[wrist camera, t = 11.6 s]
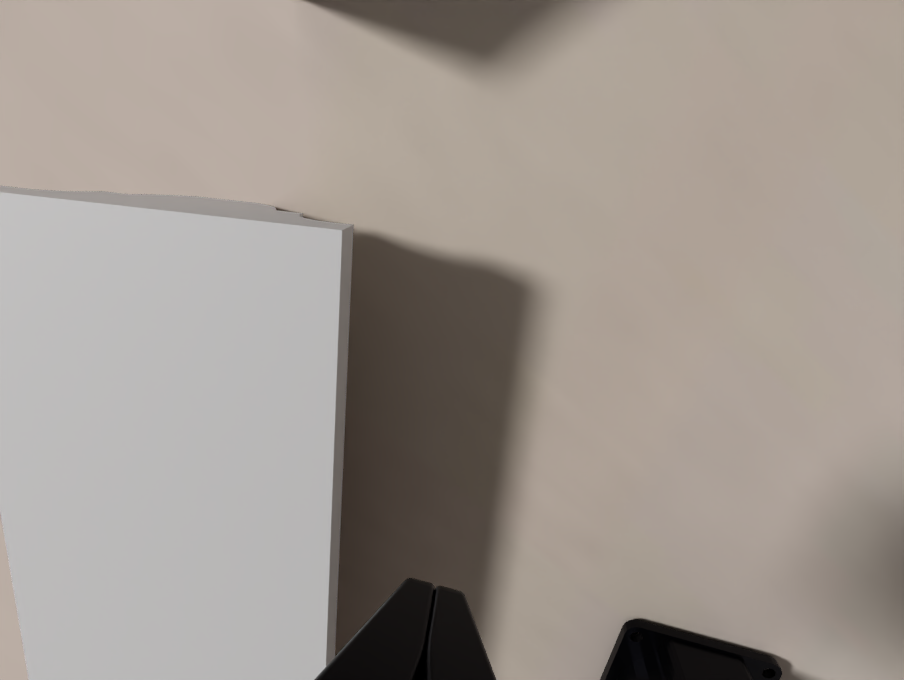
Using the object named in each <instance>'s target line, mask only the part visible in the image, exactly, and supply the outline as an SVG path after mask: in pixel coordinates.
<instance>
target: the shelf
mask: <svg viewBox="0 0 904 680" xmlns="http://www.w3.org/2000/svg"><path fill="white" fill-rule="evenodd" d="M353 227H354V225H352V224H343V223H334V222H326V221H318V220H312V219H307V218H303V213H296V212H287V211H278V210H276V208H275V207H273V206H270V205H265V204H261V203H254V202H244V201H235V200H226V199H217V198H208V197H198V196H182V195H158V194H123V193H114V192H105V191H55V190H39V189H27V188H18V187H9V186H0V513H1V519H2V525H3V531H4V537H5V543H6V549H7V555H8V561H9V566H10V572H11V578H12V584H13V590H14V596H15V602H16V608H17V614H18V620H19V626H20V632H21V637H22V643H23V649H24V655H25V661H26V667H27V673H28V679H29V680H314V679H315V678H316V677H317V676H318V675H319V674H320V673H321V672H322V670H323V669H324V668H325V667H326V666H327V665H328V664H329V663H330V662H331V661H332V660H333V658H334V657H335V642H336V619H337V596H338V573H339V550H340V527H341V503H342V480H343V457H344V434H345V411H346V388H347V365H348V342H349V319H350V296H351V273H352V250H353Z"/></svg>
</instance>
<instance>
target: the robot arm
mask: <svg viewBox="0 0 904 680" xmlns="http://www.w3.org/2000/svg"><path fill="white" fill-rule="evenodd" d="M634 632H639V633H638V634H632V633H634ZM768 668H769V669H768ZM765 669H767V670H765ZM781 675H782V671H781V668H780V667H779V665H778V663H777V661H776V660H775V659H774V658H773V657H770V656H768V655H764V654H760V653H757V652H753V651H749V650H746V649H742V648H738V647H735V646H731V645H727V644H724V643H720V642H716V641H713V640H709V639H706V638H702V637H698V636H695V635H691V634H687V633H684V632H680V631H676V630H673V629H669V628H665V627H662V626H658V625H654V624H651V623H647V622H644V621H640V620H629V621H627V622H626V623H625V624H624V625H623V627H622V629H621V631H620V634H619V636H618V639H617V641H616V643H615V646H614V648H613V650H612V653H611V655H610V658H609V660H608V662H607V665H606V667H605V669H604V672H603V674H602V676H601V679H600V680H780V678H781ZM314 680H496V678H495V675H494V672H493V670H492V667H491V664H490V662H489V659H488V656H487V654H486V651H485V648H484V646H483V643H482V640H481V638H480V635H479V632H478V629H477V627H476V624H475V621H474V619H473V616H472V613H471V611H470V608H469V605H468V603H467V600H466V597H465V595H464V594H463V593H462V592H461V591H458V590H454V589H451V588H447V587H443V586H437V587H436V588H435V590H434V585H433V584H432V583H429V582H425V581H421V580H418V579H414V578H408V579H406V580H405V581H404V582H403V583H402V584H401V585H400V586H399V587H398V589H397V590H396V591H395V592H394V593H393V594H392V595H391V596H390V597H389V598H388V599H387V601H386V602H385V603H384V604H383V605H382V606H381V607H380V608H379V609H378V610H377V611H376V613H375V614H374V615H373V616H372V617H371V618H370V619H369V620H368V621H367V622H366V624H365V625H364V626H363V627H362V628H361V629H360V630H359V631H358V632H357V633H356V634H355V636H354V637H353V638H352V639H351V640H350V641H349V642H348V643H347V644H346V645H345V646H344V648H343V649H342V650H341V651H340V652H339V653H338V654H337V655H336V656H335V657H334V658H333V660H332V661H331V662H330V663H329V664H328V665H327V666H326V667H325V668H324V669H323V670H322V672H321V673H320V674H319V675H318V676H317V677H316V678H315V679H314Z"/></svg>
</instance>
